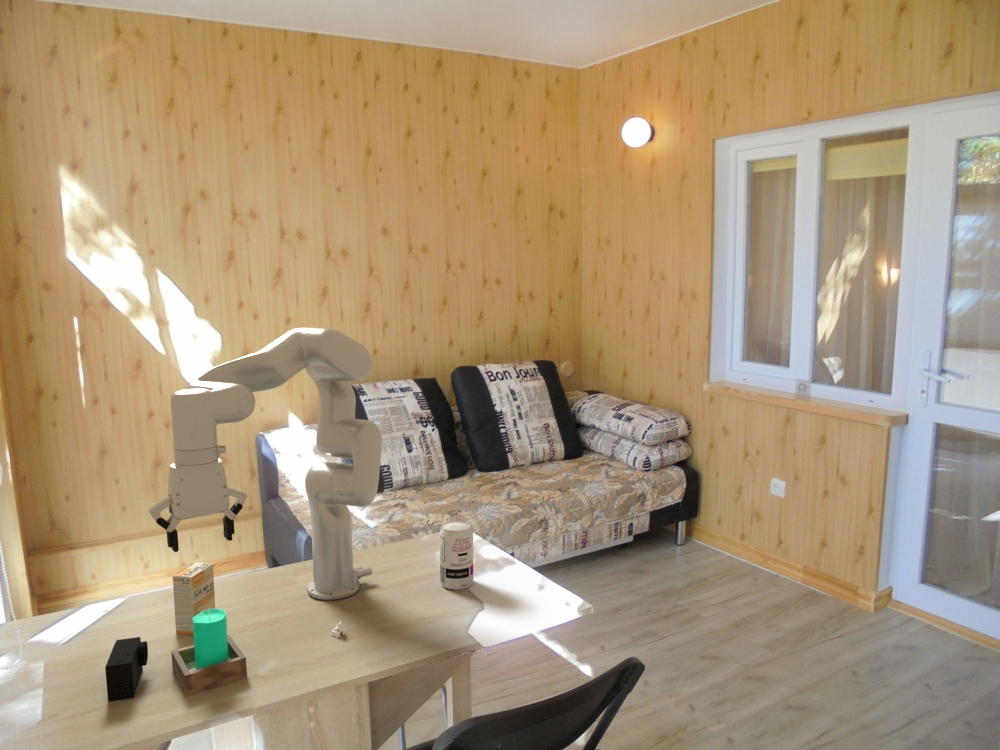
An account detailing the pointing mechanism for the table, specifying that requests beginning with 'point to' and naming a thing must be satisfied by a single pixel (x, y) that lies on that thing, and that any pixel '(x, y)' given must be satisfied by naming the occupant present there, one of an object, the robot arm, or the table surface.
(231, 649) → the open wooden box
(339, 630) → the white irregular piece
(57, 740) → the table surface
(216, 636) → the candle
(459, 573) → the supplement can
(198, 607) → the supplement box
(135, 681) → the digital camera
